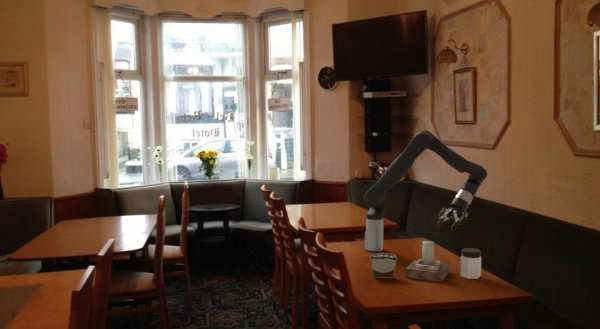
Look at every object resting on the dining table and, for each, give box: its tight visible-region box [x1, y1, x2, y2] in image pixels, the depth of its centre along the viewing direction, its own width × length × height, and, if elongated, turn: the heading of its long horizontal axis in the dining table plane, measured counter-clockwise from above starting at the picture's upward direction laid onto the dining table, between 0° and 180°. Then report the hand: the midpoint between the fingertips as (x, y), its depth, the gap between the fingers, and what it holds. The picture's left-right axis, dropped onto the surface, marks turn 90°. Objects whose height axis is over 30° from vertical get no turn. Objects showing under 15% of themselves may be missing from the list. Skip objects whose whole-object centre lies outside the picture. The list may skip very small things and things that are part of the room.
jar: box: [460, 247, 482, 280], centre depth 230 cm, size 9×8×12 cm
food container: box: [369, 252, 398, 279], centre depth 231 cm, size 12×6×10 cm, turn 84°
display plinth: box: [405, 258, 450, 283], centre depth 232 cm, size 16×16×6 cm
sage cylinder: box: [421, 240, 435, 266], centre depth 232 cm, size 5×5×11 cm
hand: (445, 228), depth 237 cm, fingers open, 8 cm apart
